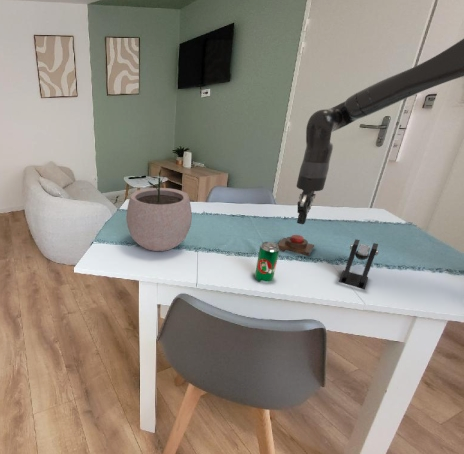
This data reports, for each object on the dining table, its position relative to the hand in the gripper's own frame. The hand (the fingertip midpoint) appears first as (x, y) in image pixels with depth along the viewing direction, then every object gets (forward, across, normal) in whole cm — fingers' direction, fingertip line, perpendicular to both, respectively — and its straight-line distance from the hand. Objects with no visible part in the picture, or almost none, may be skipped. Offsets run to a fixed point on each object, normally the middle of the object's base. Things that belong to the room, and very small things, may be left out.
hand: (300, 223), depth 102 cm
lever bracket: (+11, +12, +18) cm, 24 cm away
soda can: (+11, +27, -2) cm, 29 cm away
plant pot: (+11, +29, -40) cm, 51 cm away
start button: (+7, 0, 0) cm, 7 cm away
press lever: (+4, +8, +18) cm, 20 cm away
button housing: (+11, 0, 0) cm, 11 cm away
